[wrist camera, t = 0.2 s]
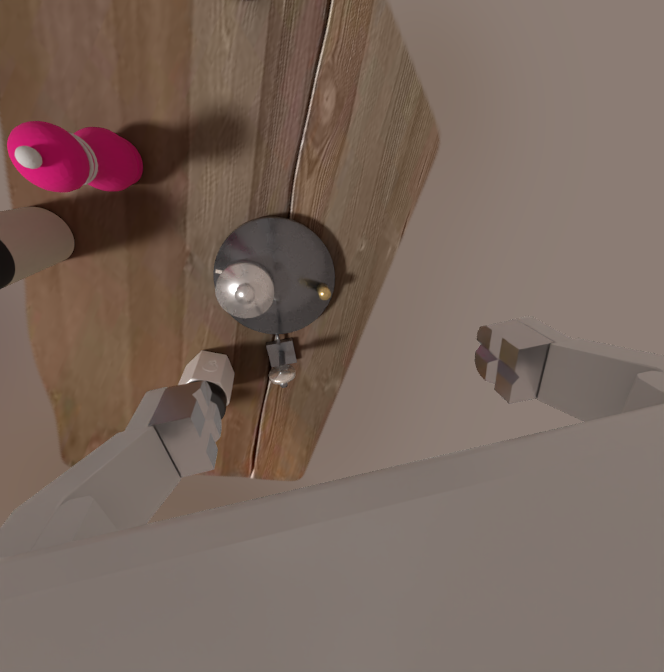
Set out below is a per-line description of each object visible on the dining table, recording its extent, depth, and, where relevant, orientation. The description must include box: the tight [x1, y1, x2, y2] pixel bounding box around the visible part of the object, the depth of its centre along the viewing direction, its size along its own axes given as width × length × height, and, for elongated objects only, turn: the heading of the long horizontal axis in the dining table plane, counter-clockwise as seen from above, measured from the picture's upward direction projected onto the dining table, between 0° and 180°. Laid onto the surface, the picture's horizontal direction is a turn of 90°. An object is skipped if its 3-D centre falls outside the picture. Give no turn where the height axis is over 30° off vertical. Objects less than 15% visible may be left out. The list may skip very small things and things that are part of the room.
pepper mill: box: [7, 121, 143, 192], centre depth 36 cm, size 7×7×20 cm
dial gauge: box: [266, 334, 297, 388], centre depth 57 cm, size 7×5×12 cm
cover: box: [215, 259, 274, 318], centre depth 51 cm, size 9×9×4 cm
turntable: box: [214, 216, 335, 334], centre depth 53 cm, size 20×20×5 cm
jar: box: [178, 351, 235, 419], centre depth 57 cm, size 9×8×12 cm
